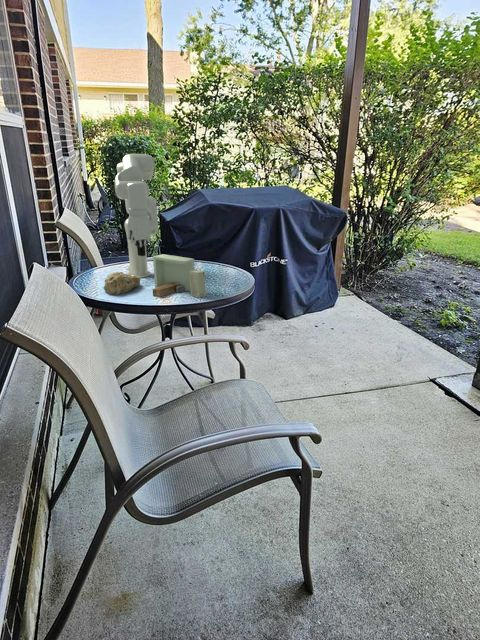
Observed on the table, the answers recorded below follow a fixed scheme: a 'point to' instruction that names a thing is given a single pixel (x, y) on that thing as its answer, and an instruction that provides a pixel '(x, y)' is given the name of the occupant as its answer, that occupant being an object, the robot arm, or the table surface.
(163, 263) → the shelter
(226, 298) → the table surface
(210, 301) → the table surface
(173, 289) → the walnut batten
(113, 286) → the rock
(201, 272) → the skincare box
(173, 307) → the table surface
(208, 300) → the table surface
